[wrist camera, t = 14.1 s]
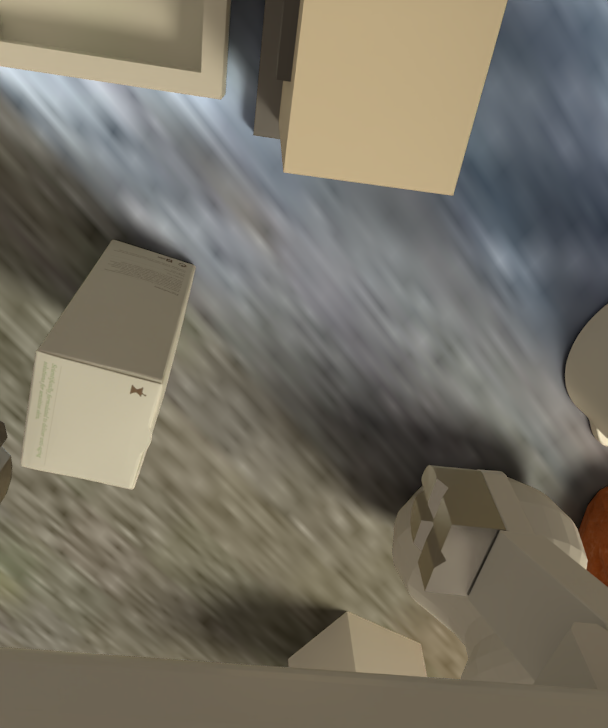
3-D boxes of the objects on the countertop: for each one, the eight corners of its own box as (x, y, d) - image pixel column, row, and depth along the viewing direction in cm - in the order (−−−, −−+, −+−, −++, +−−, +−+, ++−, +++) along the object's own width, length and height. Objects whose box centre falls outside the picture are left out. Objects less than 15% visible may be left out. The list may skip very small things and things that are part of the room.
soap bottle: (377, 541, 57) (462, 942, 32) (383, 457, 51) (494, 869, 26) (534, 532, 57) (740, 918, 32) (559, 448, 51) (836, 842, 26)
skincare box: (113, 235, 38) (30, 340, 25) (203, 265, 40) (169, 379, 27) (92, 333, 42) (11, 468, 29) (175, 357, 44) (134, 496, 31)
